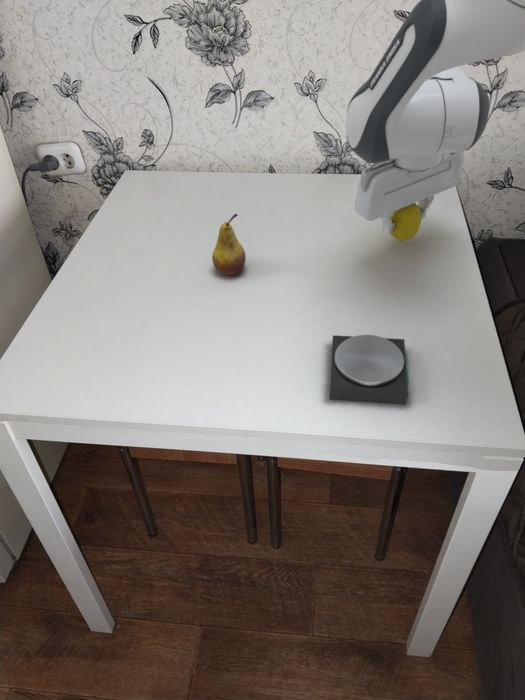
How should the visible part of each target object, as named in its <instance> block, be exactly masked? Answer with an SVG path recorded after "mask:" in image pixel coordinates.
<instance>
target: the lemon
mask: <svg viewBox="0 0 525 700" xmlns="http://www.w3.org/2000/svg"><path fill="white" fill-rule="evenodd" d="M390 218H391V220H392V221H395V222H396V227H395V228H396V229H395V231H393V232H391V233H389V235H390V236H391V237H392V238H393V239H394V240H397V241H399V242H402V243H403V242H405V241H409V240H411V239H413V238H414V237H415V236H416V235H417V233H418V232H419V230H420V227H421V223H422V219H421V214H420V209H419V207H418V206H417V203H413V204H411V205H409V206H406V207H404V208H401V209H399V210H397V211H394V212H393V216H392V217H390Z"/></svg>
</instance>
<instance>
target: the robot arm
mask: <svg viewBox="0 0 525 700" xmlns="http://www.w3.org/2000/svg"><path fill="white" fill-rule="evenodd" d="M523 52H525V0H419V1H418V2H417V3H416V4H415V6H414V7H413V9H412V10H411V11H410V13H409V14H408V16H407V17H406V18H405V20H404V21H403V23H402V24H401V26H400V28H399V29H398V30H397V33H396V34H395V36H394V37H393V39H392V40H391V42H390V44H389V46H387V49H386V51H385V52H384V54H383V55H382V57H381V58H380V60H379V61H378V64H377V65H376V67H375V68H374V70H373V72H372V73H371V75H370V76H369V77H368V79H367V80H366V81H365V82H364V83H363V84H361V86H359V88H358V89H357V91H355V93H354V94H353V96H352V97H351V98H350V100H349V102H348V106H347V109H346V114H345V115H346V116H345V134H346V141H347V145H348V147H349V148H350V150H351V151H352V152H353V153H354V154H355V155H356V156H357V157H359V159H361V160H363V161H364V162H366V163H367V164H368V165H367V166H366V167H365V168H364V170H363V171H362V172H361V174H360V178H359V180H358V186H357V190H356V194H355V200H354V211H355V212H356V214H358V215H359V216H360V217H361V218H363V219H365V220H366V221H369V222H372V221H375V220H377V219H380V220H381V222H382V223H381V230H382V231H383V232H384V233H386V234H388V235H389V234H390V233H391V232H393V231H395V229H396V228H395V227H396V222H395V221H392V220H391V218H390V217H392V216H393V212H394V211H397V210H399V209H401V208H404V207H406V206H409V205H411V204H413V203H415V204H416V205H417V206H418V207H419V209H420V214H421V220H423V219H426V216H427V211H428V210H429V208H430V206H431V205H432V203H433V201H434V199H435V196H436V195H438V194H440V193H442V192H444V191H447V190H449V189H452V188H454V187H455V186H456V185H457V184H458V182H459V180H460V179H461V177H462V172H463V169H464V168H463V167H464V162H465V151H469V150H470V149H472V147H474V146H475V145H476V143H477V142H478V141H479V140H480V138H481V137H482V135H483V133H484V132H485V129H486V127H487V125H488V124H487V123H488V120H489V113H490V97H489V94H488V93H487V91H486V90H485V89H484V87H483V86H482V85H481V84H480V83H479V82H478V81H477V80H475V79H474V78H472V77H471V76H469V75H468V74H467V71H466V70H465V67H464V66H465V65H469V64H473V63H477V62H482V61H487V60H492V59H496V58H503V57H508V56H512V55H515V54H520V53H523Z"/></svg>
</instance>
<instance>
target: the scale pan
mask: <svg viewBox="0 0 525 700" xmlns="http://www.w3.org/2000/svg"><path fill="white" fill-rule="evenodd" d="M385 338H386V337H382V336H379V335H374V334H360V335H355V336H353V337H351V338H349V339H347V340H345V341H343V342H342V343H341V344H340V345H339V346H338V348H337V350H336V352H335V365H336V367H337V369H338V371H339V372H340V373H341V374H342V375H343V376H344V377H345V378H347V379H348V380H350V381H352V382H354V383H357V384H360V385H366V386H379V385H384V384H387V383H389V382H391V381H393V380H395V379H396V378H397V377H398V376H399V375H400V373H401V372H402V370H403V365H404V358H403V355H402V352H401V351H400V349H399V348H398V347H397V346H396V345H395V344H394V343H392V342H391V341H389V340H387V339H385Z"/></svg>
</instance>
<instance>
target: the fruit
mask: <svg viewBox="0 0 525 700" xmlns="http://www.w3.org/2000/svg"><path fill="white" fill-rule="evenodd" d="M238 216H239V215H238V213H234V214H233V215H232V217H230V219H229V220H228V221H225V222H223V223H222V224H221V225H220V227H219V230H218V237H217V240H216V244H215V247H214V249H213V251H212V256H211V260H212V264H213V266H214V268H215V269H216V270H217V271H218V272H219V273H221V274H224V275H226V276H233V275H236V274H239V272H241V270H242V269H243V268H244V267H245V264H246V260H247V259H246V258H247V257H246V252H245V249H244V247H243V245H242V244H241V243H240V241H239V240H238V238H237V236H236V233H235V230H234V228H233V226H232V225H231V222H232V221H233V220H234V219H235V218H237V217H238Z"/></svg>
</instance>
